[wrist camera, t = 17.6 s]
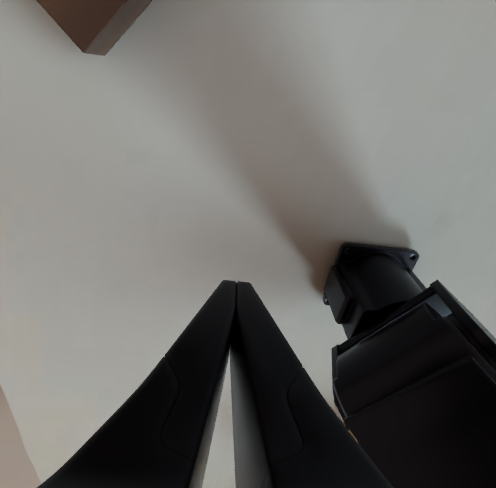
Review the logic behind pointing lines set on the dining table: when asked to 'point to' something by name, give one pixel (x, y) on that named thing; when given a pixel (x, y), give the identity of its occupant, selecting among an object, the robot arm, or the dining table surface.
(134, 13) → the base
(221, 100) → the dining table surface
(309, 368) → the dining table surface
